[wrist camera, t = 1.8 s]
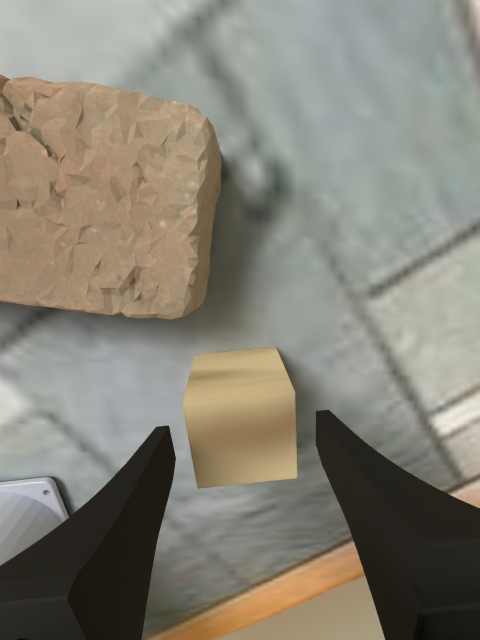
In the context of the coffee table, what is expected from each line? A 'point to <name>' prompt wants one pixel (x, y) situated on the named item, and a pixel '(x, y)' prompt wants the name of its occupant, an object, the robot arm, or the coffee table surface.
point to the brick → (104, 199)
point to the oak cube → (240, 418)
